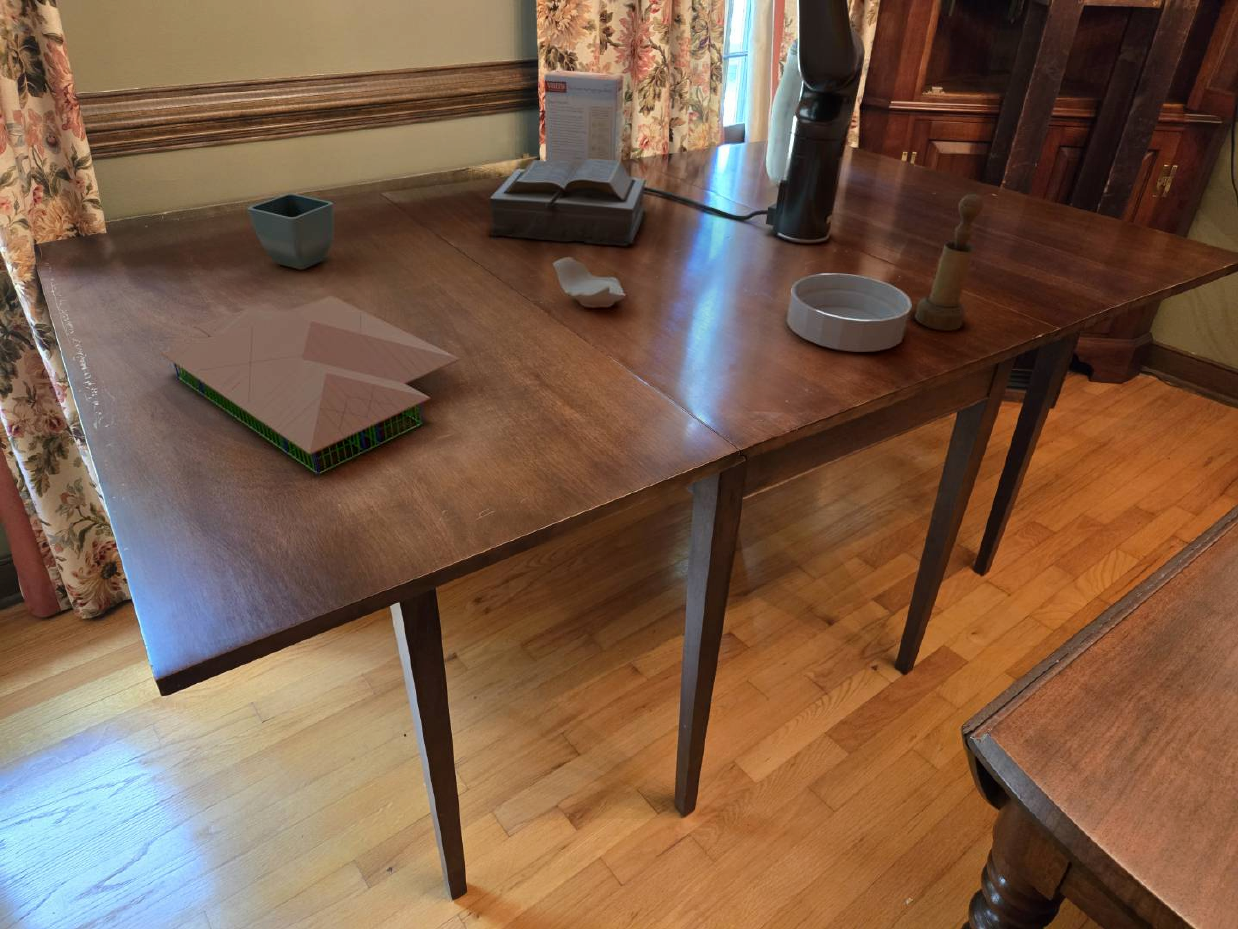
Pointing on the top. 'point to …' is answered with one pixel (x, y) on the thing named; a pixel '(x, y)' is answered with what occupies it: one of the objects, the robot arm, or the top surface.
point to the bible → (570, 203)
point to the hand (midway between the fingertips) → (977, 19)
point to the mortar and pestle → (951, 274)
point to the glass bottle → (783, 116)
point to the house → (310, 372)
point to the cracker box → (583, 116)
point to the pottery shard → (587, 284)
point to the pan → (848, 312)
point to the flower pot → (294, 229)
